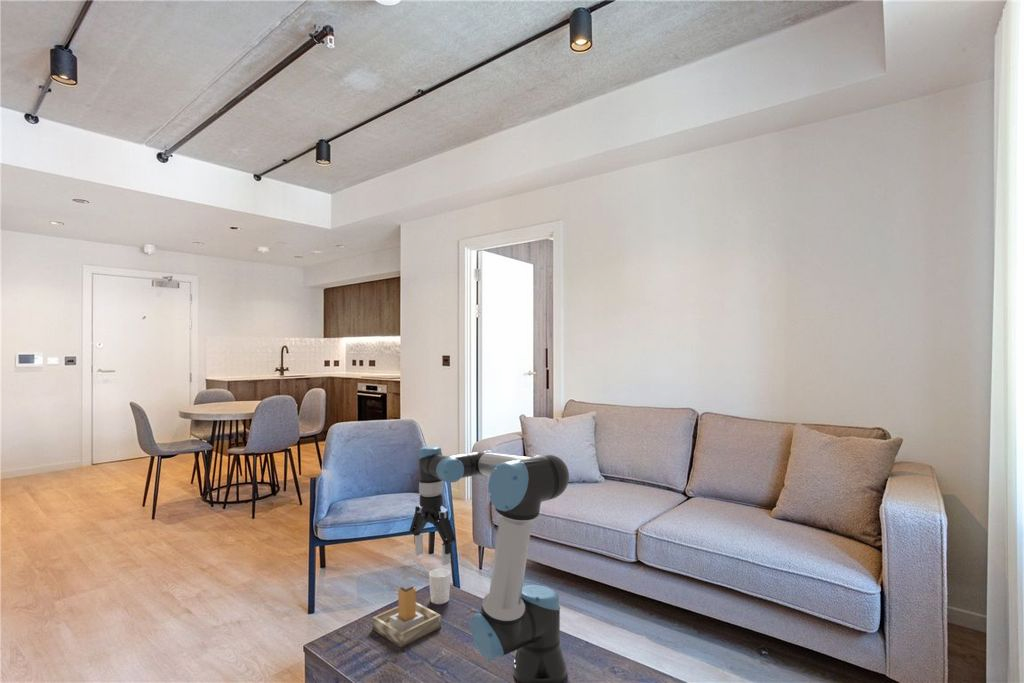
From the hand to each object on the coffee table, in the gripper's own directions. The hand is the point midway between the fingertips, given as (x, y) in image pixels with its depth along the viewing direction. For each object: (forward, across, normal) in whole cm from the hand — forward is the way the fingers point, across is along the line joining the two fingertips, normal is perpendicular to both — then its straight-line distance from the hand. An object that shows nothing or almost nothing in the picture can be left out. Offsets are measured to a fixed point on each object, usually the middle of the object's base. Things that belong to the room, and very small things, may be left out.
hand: (432, 559), depth 169 cm
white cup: (+23, +15, -16) cm, 32 cm away
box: (+23, +9, +4) cm, 25 cm away
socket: (+23, +9, +4) cm, 25 cm away
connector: (+22, +9, +4) cm, 24 cm away
